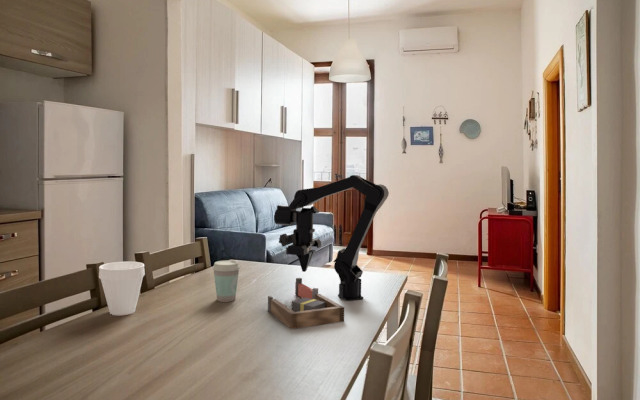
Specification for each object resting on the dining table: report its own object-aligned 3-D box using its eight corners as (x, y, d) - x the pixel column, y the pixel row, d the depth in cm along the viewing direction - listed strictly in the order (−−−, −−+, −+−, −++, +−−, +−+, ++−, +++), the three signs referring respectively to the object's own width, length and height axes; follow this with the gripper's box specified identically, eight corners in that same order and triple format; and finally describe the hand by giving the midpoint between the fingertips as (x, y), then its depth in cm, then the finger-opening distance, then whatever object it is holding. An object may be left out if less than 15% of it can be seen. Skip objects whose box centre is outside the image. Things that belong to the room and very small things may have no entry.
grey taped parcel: (304, 308, 146) (304, 297, 146) (325, 313, 141) (325, 301, 141) (291, 313, 141) (291, 301, 141) (312, 318, 136) (312, 306, 136)
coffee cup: (233, 304, 149) (234, 265, 148) (208, 302, 151) (208, 264, 150) (243, 296, 158) (243, 260, 157) (219, 295, 159) (219, 259, 158)
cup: (154, 309, 142) (153, 263, 141) (121, 321, 131) (120, 271, 130) (123, 303, 148) (123, 259, 147) (89, 314, 136) (88, 267, 136)
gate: (319, 304, 149) (319, 287, 148) (313, 305, 148) (313, 288, 147) (299, 293, 162) (299, 277, 162) (294, 293, 161) (294, 277, 161)
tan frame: (315, 304, 150) (316, 290, 150) (344, 321, 134) (344, 305, 134) (267, 310, 143) (267, 295, 143) (291, 329, 127) (291, 312, 127)
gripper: (292, 222, 174) (292, 264, 175) (271, 228, 157) (271, 275, 158) (321, 223, 171) (321, 266, 172) (303, 229, 153) (303, 278, 154)
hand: (304, 271), depth 164 cm, fingers closed
